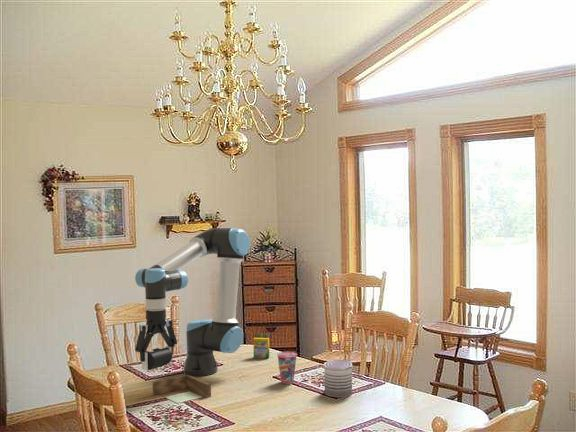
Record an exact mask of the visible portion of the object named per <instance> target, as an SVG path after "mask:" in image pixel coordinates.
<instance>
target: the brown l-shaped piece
mask: <svg viewBox="0 0 576 432" xmlns="http://www.w3.org/2000/svg"><path fill="white" fill-rule="evenodd" d="M184 389H187V390H189V391H191V392H195V393H197V394H198V395H200V396H204V397H205V398H211V397H212V384H211V383H209V382H206V381H205V380H203V379H200V378H198V377H196V376H191V375H186V374H184V375H179V376H175V377H170V378H166V379H160V380H155V381H152V395H153V396H156V395H157V396H158V395H161V394H166V393H170V392H176V391H179V390H184Z"/></svg>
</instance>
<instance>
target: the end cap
mask: <svg viewBox="0 0 576 432" xmlns="http://www.w3.org/2000/svg"><path fill="white" fill-rule="evenodd" d="M146 353H147V355H148V370H147V371H153V370H155V369H158V368H160V367H164V366H167V365H169V364H168V363H169V362H171V360H172V361H173V354H172V352H171V350H170V349H169V348H167V347H166V346H165V347H164V348H162V347H161V348H159V347H156V348H153V349H152V351H149V350H148V351H147V350H146ZM140 363H142V361H140Z"/></svg>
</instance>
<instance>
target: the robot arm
mask: <svg viewBox="0 0 576 432" xmlns="http://www.w3.org/2000/svg"><path fill="white" fill-rule="evenodd" d="M250 248H251V241H250V238H249V235H248V234H247V232H246V231H245V229H242V228H236V227H231V228H229V227H223V228H222V227H221V228H220V227H214V228H210V229H207V230H205V231H202V232H201V233H199V234H197V235H195V236H193V237H192V238H191V239H190V240H189V242H188V243H187V244H186V245H184V246H182V247H180V248H179V249H177V250H176V251H175V252H173V253H171V254H170V255H168V256H166V257H164V259H162V260H160V261H159V262H157V263H155V264H154V265H152V266H151V267H149V268H141V269H139V270H138V271H136V273H135V276H134V277H135V278H134V280H135V282H136V286H138V287H140V288H145V290H144V291H145V292H144V293H145V309H146V310H145V320H146V324H140V325H139V327H138V328H139V333H138V335H137V336H138V337H137V340H136V345H135V349H134V351H135V352H137V353H139V361H140V362H141V361H142V362H141V370H144V371H149V370H148V355H147V353H146V351H147V350H148V348H149V345H150V344H151V343H150V342H151V341H152V338H153V337H154V335H157V334H160V335H161V337H162V339H163V340H164V343H166V346H165V348H166V347H167V348H169V349H170V350H171V352H172V355H173V353H174V347H175V345H177V344H178V341H177V336H176V333H175V331H174V327H173V320H170V319H166V318H167V311H166V310H167V309H166V307H167V306H166V305H167V302H166V295H167V293H166V292H172V291H178V290H182V289H185V288H186V287H187V285H188V283H189V276H188V274H187V273H186V271H185V270H183V269H184V268H185V267H186V266H188V265H189V264H191V263H192V262H193V261H195V260H197V259H198V258H204V257H205V256H207V255H212V254H213V255H214V254H215V255H216V258H217V260H218V261H219V273H218V286H217V299H216V310H215V311H216V313H215V317H214V318H213V319H212V318H204V319H197V320H192V321H189V322H188V323H187V324H186V331H185V333H186V358H185V361H184V365H183V371H182V372H183V373H184V375H185V376H186V375H190V376H193V377H202V376H203V377H204V376H209V375H213V374H216V373H217V372H218V364H217V361H216V359H215V358H216V357H215V355H214V352H219V353H223V354H233V353H235V352H237V351H238V350H239V349H240V347H241V345H242V343H243V340H244V331H243V329H242V328H241V327H240V326H239V321H238V319H237V318H236V315H237V305H238V304H237V303H238V301H237V300H238V291H239V289H238V288H239V279H240V278H239V276H240V275H239V274H240V264H241V263H242V262H243V260H244V257H245V256H246V255H247V254H248V253H249V251H250ZM165 327H166V328H165ZM172 361H173V359H172V360H171V362H169V363H168V364H167V365H172V364H173V362H172Z"/></svg>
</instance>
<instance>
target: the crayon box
mask: <svg viewBox="0 0 576 432" xmlns="http://www.w3.org/2000/svg"><path fill="white" fill-rule="evenodd" d="M253 359H264V360H265V359H266V360H267V359H270V333H254V337H253Z"/></svg>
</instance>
